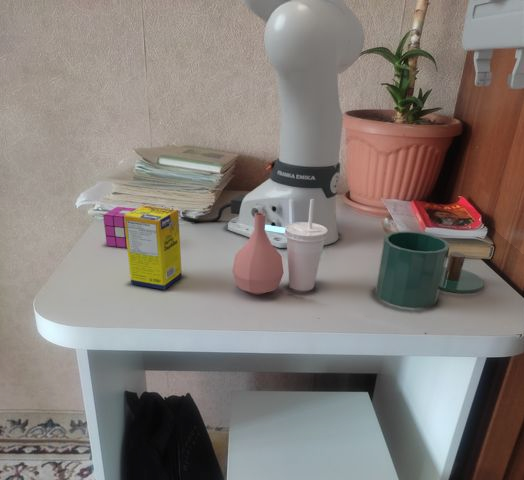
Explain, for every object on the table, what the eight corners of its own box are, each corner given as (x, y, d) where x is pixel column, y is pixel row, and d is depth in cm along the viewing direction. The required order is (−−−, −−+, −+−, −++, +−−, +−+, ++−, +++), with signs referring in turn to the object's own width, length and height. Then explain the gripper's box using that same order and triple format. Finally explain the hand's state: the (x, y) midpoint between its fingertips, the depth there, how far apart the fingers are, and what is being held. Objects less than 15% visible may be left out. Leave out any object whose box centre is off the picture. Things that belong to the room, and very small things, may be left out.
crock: (366, 300, 78) (375, 243, 73) (387, 280, 85) (396, 227, 80) (425, 317, 74) (439, 257, 69) (443, 295, 81) (456, 239, 76)
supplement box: (182, 276, 83) (179, 209, 77) (164, 291, 78) (159, 220, 72) (149, 270, 85) (144, 204, 79) (130, 284, 80) (123, 214, 74)
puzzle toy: (120, 236, 99) (116, 206, 96) (148, 239, 98) (145, 209, 95) (106, 245, 94) (102, 214, 91) (136, 249, 93) (133, 217, 90)
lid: (412, 286, 83) (418, 256, 81) (429, 267, 90) (435, 239, 88) (474, 302, 79) (482, 271, 76) (487, 281, 86) (495, 252, 84)
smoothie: (310, 301, 77) (318, 207, 70) (273, 290, 80) (278, 199, 73) (328, 287, 82) (338, 198, 75) (293, 277, 85) (299, 190, 77)
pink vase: (285, 284, 82) (290, 209, 76) (278, 304, 76) (283, 224, 69) (237, 279, 83) (238, 204, 77) (227, 299, 77) (227, 219, 70)
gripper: (458, -23, 74) (445, 85, 80) (537, -51, 56) (513, 92, 63) (500, -25, 74) (484, 83, 81) (593, -53, 56) (563, 89, 63)
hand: (498, 87), depth 72 cm, fingers open, 8 cm apart
